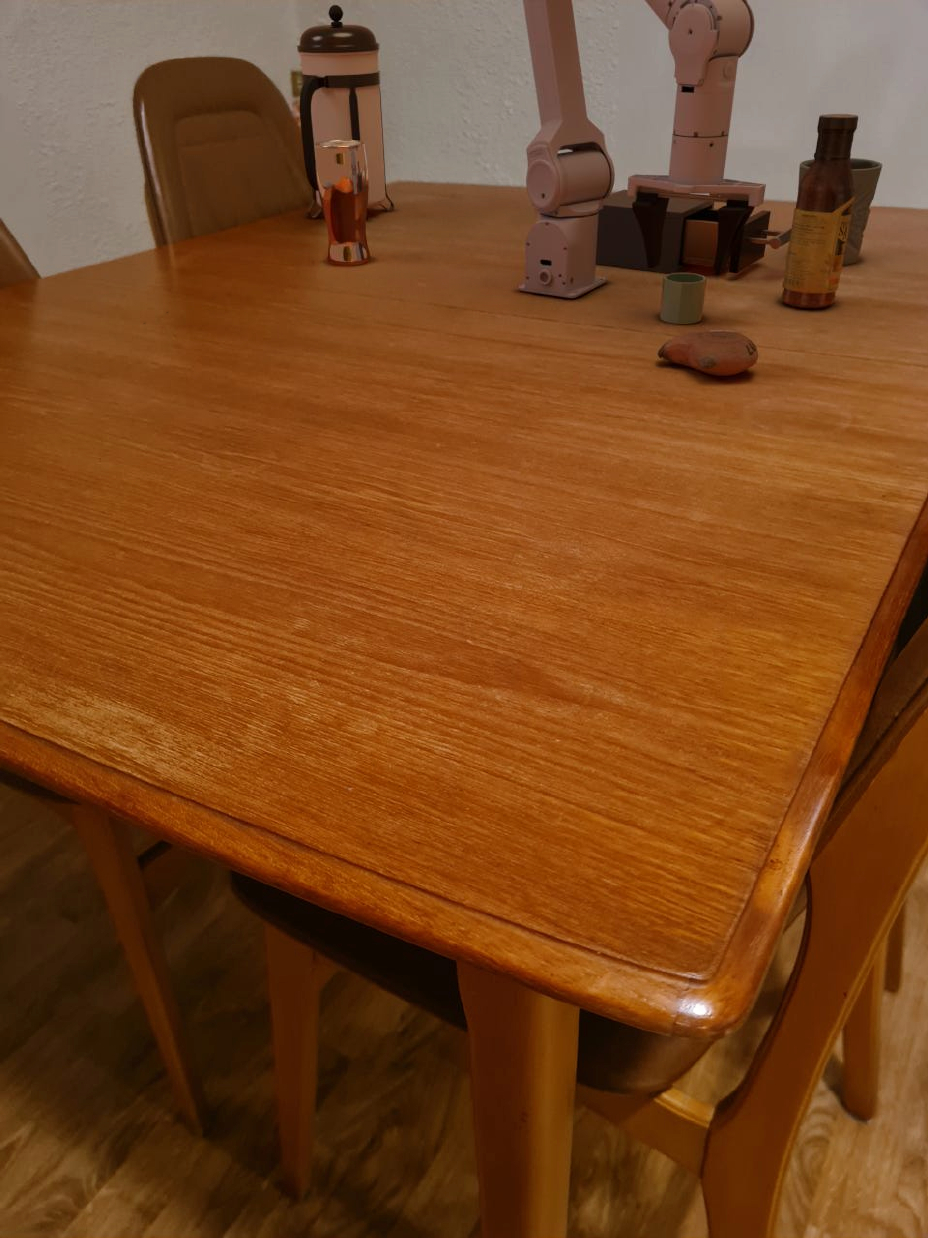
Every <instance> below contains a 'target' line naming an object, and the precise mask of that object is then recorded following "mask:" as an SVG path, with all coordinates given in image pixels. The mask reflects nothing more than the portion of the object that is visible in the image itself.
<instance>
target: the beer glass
mask: <svg viewBox="0 0 928 1238" xmlns="http://www.w3.org/2000/svg"><path fill="white" fill-rule="evenodd" d="M315 147H316V176H317V185H318V192H319V196H320V201H321V205H322V207H321V208H322V209H323V211H322V213H323V216H324V220H325V224H326V225H325V226H326V228H327V236H328V248H327V263H329V264H330V265H333V266H334V265H335V266H344V267H345V266H347V267H348V266H358V265H363V264H367V263H369V262H370V261H371V259H372V258H371V252H370V249H369V243H368V239H367V221H366V217H367V215H368V209H367V206H368V192H369V181H368V167H367V159H366V152H365V143H364V142H363V141H359V140H330V141H322V142H318V143H316V144H315Z"/></svg>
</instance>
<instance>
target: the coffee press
mask: <svg viewBox="0 0 928 1238" xmlns="http://www.w3.org/2000/svg"><path fill="white" fill-rule="evenodd" d="M344 13H345V12H343V9H342V7H341V6H340V5H338V4H333V5H331V6H330V7H329V9H328V13H327V14H328V17H329V18H330V20H331V22H330V24H325V25H315V26H312V27H308V28H307V29H306V30H304V31H303V33H301V35H300V38H299V44H298V45H296V49H297V52H298V55H300V57H299V58H300V65H301V72H300V79H301V80H300V81H301V89H300V94H299V122H300V123H299V124H300V133H301V143H302V151H303V161H304V168H305V173H306V178H307V180H308V183H309V185H310V187H311V190H312V201H311V203H310V205H309V207H308V209H307V215H308V216H309V217H310V218H311V219H316V218H317V219H318V217H319V216H320V214H321V213H323V209H322V205H321V201H320V196H319V192H318V185H317V176H316V147H315V144H316V143H318V142H322V141H330V140H359V141H363V142H364V143H365V152H366V159H367V167H368V181H369V192H368V206H367V210H371V209H375V208H378V207H380V206H381V208H383V209H384V210H385V211H387V212H392V211H393V210H394V208H395V204H394V203H393V201H392V200H391V199H390V197H389V195H388V193H387V181H386V179H387V178H386V164H385V163H386V162H385V148H384V147H385V146H384V145H385V144H384V128H383V112H382V111H383V109H382V95H381V87H380V84H382V83H381V82H382V81H381V71H380V70H379V56H378V55H379V52H380V43H379V42H377V38H376V36H375V33H374V32H373V31H372V30H371V29H370V28H368V27H366V26H364V25H359V24H344V23H343V22H342V21H341V20H342V19H343V16H344ZM386 199H387V200H388V202H389V203H390V207H389V208H386V207H385V206H384V202H385V200H386ZM315 204H316V205H317V206H318V207H320V208H319V209H318V210H317V211H316V213H315V214H314V215H311V212H312V210H313V208H314V206H315ZM368 215H369V214H367V217H366V222H367V221H369V217H368Z"/></svg>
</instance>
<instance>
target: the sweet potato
mask: <svg viewBox="0 0 928 1238" xmlns="http://www.w3.org/2000/svg"><path fill="white" fill-rule="evenodd" d="M656 355H657V357H659V358H661V359H663V360H665V361H668V362H670V363H674V364H679V365H683V366H686V367H689V368H693V369H694V370H697V371H698V372H703V373H705V374H708V375H710V376H717V377H730V376H734V375H737V374H739V373H743V372H745V371H746V370H748V369H750V368H752V367H754V365H756V363H757V362H758V359H759V352H758V349H757V347H756V345H755V343H754V342H753V341H752V340H751V339H750V338H749V337H748V336H746V335H744V334H743V333H741V332H739V331H734V330H731V329H729V330H728V329H711V330H706V331H695V332H685V333H681V334H678V335H676V336H674V337H672V338H671V339H669V340H668V341H666V342H665V343H663V345H662V346H661V347H660V348H659V349H658V352H657V353H656Z"/></svg>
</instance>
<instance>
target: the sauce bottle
mask: <svg viewBox="0 0 928 1238" xmlns="http://www.w3.org/2000/svg"><path fill="white" fill-rule="evenodd" d="M858 122H859V115H857V114H849V113H830V114H829V113H828V114H821V115H819V117H818V121H817V128H816V129H817V130H816V131H817V138H816V139H817V140H816V144H815V145H816V146H815V152H813V159H814V162H813V164H812V165H811V167H810V168H809V169H808V171H807V172H806V173H805V175H804V176H803V178H802V180H801V182H800V184H799V183H798V185H799V188H798V187H797V197H796V203H795V208H794V209H793V216H792V221H791V228H790V229H791V234H790V241H789V242H788V248H787V254H786V260H785V266H784V274H783V281H782V288H783V291H782V294H781V300H782V302H783V303H784V304H786V305H788V306H791V307H795V308H802V309H819V308H825V307H829V306H832V304H834V301H835V298H836V293H837V291H838V290H839V284H840V279H841V274H842V269H843V265H842V263H843V258H844V252H845V248H846V242H847V237H848V232H849V226H850V221H851V214H852V209H853V204H854V198H855V191H854V184H853V177H852V169H851V162H850V158H852V157H851V156H852V146H853V142H854V136H855V133H856V131H857V129H858Z"/></svg>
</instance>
